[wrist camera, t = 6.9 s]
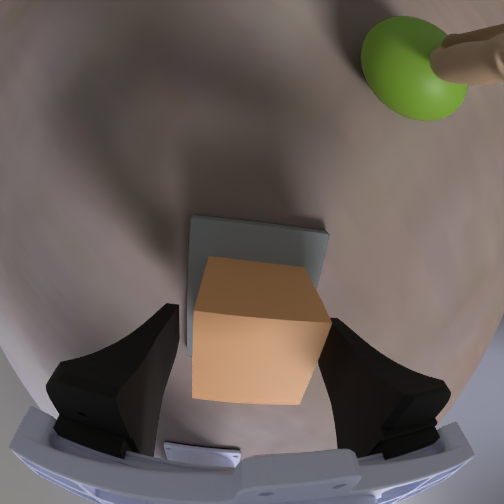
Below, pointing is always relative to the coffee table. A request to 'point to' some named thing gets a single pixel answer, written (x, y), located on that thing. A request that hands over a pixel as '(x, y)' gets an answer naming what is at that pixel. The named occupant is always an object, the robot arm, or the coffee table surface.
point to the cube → (256, 332)
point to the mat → (249, 250)
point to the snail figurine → (429, 65)
